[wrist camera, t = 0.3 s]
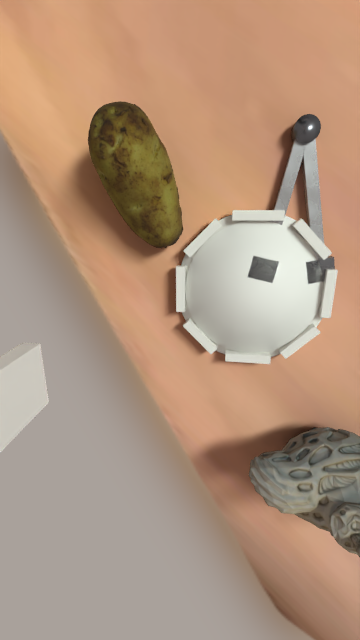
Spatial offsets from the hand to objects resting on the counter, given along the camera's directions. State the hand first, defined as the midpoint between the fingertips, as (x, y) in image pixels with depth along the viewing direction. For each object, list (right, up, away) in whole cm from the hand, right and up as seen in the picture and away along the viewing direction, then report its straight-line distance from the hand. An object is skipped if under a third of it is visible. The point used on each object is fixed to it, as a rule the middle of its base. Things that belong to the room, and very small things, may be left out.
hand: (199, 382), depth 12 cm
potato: (-4, +17, +23) cm, 29 cm away
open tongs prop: (+11, +14, +21) cm, 28 cm away
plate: (+7, +6, +24) cm, 26 cm away
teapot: (+18, -14, +29) cm, 37 cm away
